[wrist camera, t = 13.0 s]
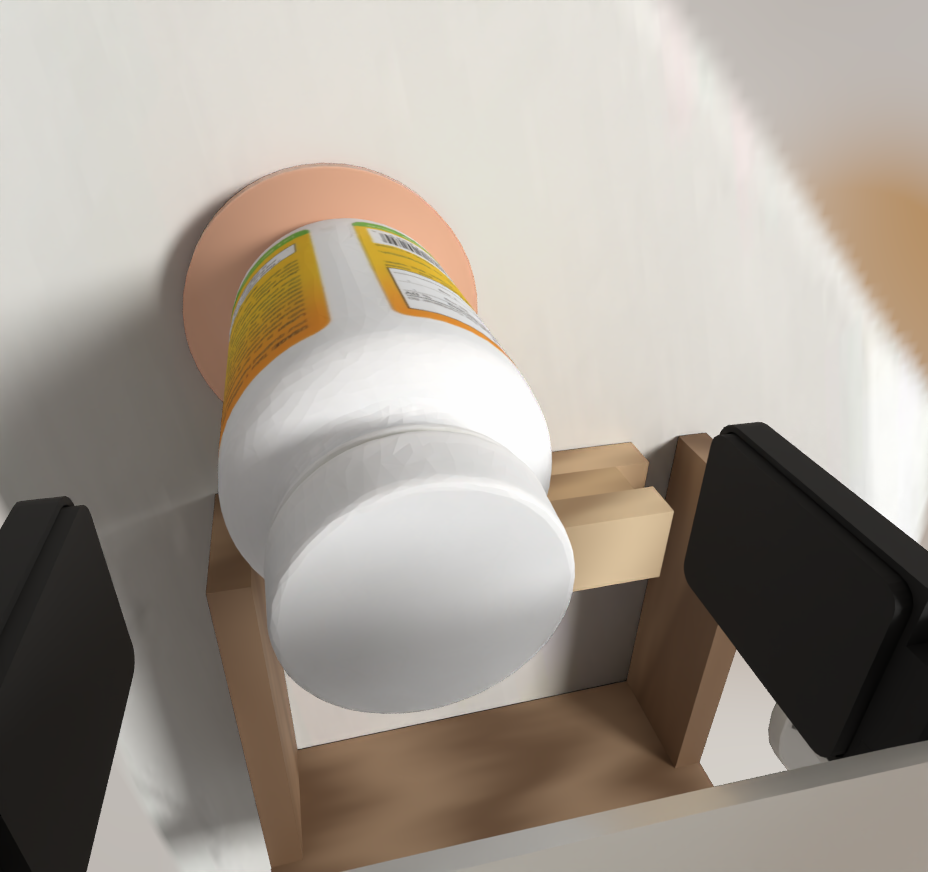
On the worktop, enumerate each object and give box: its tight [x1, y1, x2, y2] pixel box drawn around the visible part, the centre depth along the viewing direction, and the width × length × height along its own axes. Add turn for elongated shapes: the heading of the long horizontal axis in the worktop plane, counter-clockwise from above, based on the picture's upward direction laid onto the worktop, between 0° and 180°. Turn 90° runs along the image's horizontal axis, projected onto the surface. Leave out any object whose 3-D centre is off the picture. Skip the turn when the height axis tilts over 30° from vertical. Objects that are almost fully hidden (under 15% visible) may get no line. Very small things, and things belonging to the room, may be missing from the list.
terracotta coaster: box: [183, 163, 477, 402], centre depth 17 cm, size 7×7×1 cm
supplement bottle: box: [218, 218, 575, 714], centre depth 13 cm, size 5×5×10 cm
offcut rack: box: [206, 433, 736, 872], centre depth 21 cm, size 15×13×7 cm
